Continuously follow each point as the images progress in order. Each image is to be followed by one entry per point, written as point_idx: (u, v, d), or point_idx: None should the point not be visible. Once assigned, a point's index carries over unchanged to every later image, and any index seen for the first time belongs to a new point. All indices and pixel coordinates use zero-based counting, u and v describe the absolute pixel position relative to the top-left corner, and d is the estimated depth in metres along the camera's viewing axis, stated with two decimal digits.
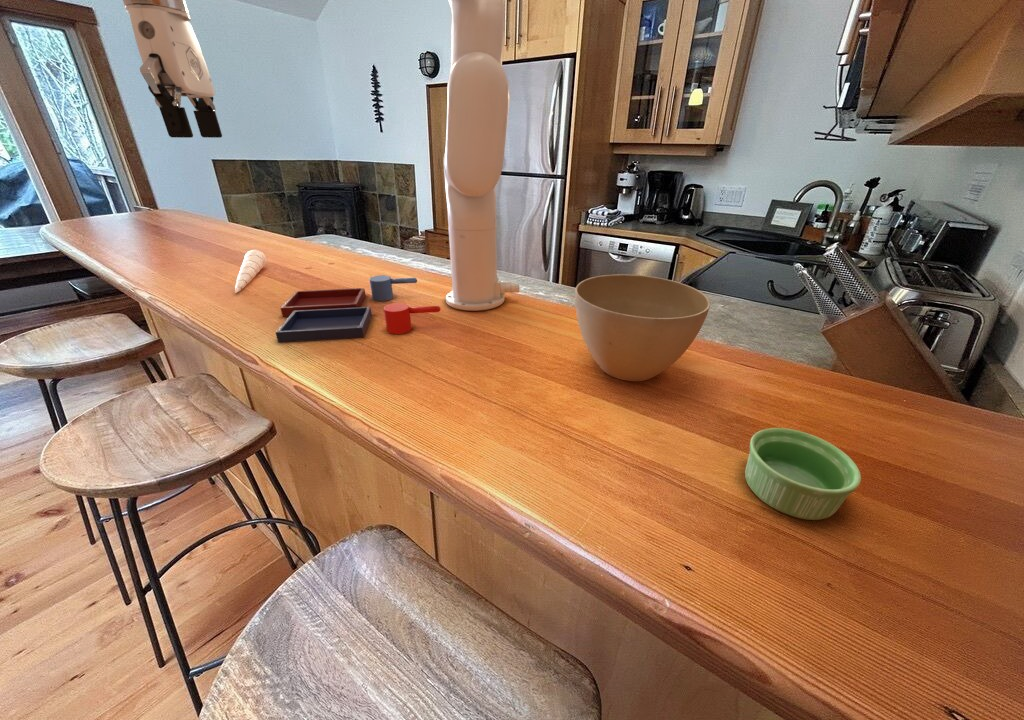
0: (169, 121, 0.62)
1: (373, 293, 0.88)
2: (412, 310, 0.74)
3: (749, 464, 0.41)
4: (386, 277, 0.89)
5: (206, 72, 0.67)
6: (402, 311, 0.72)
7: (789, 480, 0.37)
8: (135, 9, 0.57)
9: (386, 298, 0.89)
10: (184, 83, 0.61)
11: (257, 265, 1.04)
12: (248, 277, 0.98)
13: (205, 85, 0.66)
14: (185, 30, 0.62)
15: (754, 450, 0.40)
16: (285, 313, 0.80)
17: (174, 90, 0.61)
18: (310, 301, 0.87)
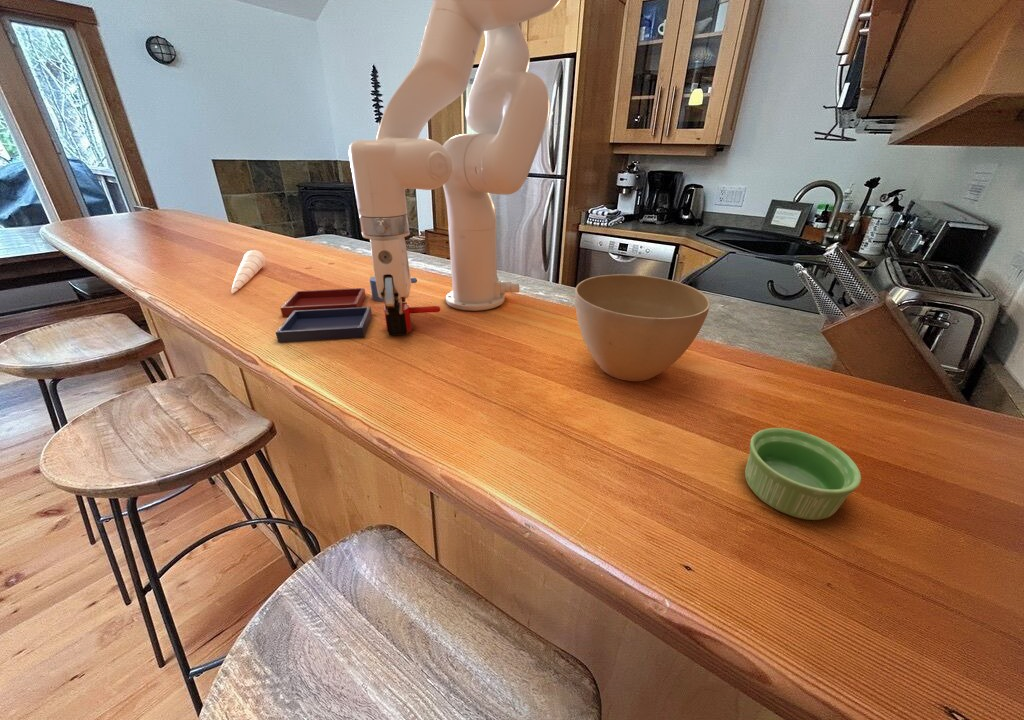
0: (393, 326, 0.71)
1: (373, 293, 0.88)
2: (412, 310, 0.74)
3: (749, 464, 0.41)
4: None
5: None
6: None
7: (789, 480, 0.37)
8: (378, 241, 0.64)
9: None
10: (406, 293, 0.68)
11: (255, 265, 1.04)
12: (245, 277, 0.98)
13: (410, 280, 0.73)
14: (404, 243, 0.69)
15: (754, 450, 0.40)
16: (285, 313, 0.80)
17: (399, 302, 0.70)
18: (310, 301, 0.87)
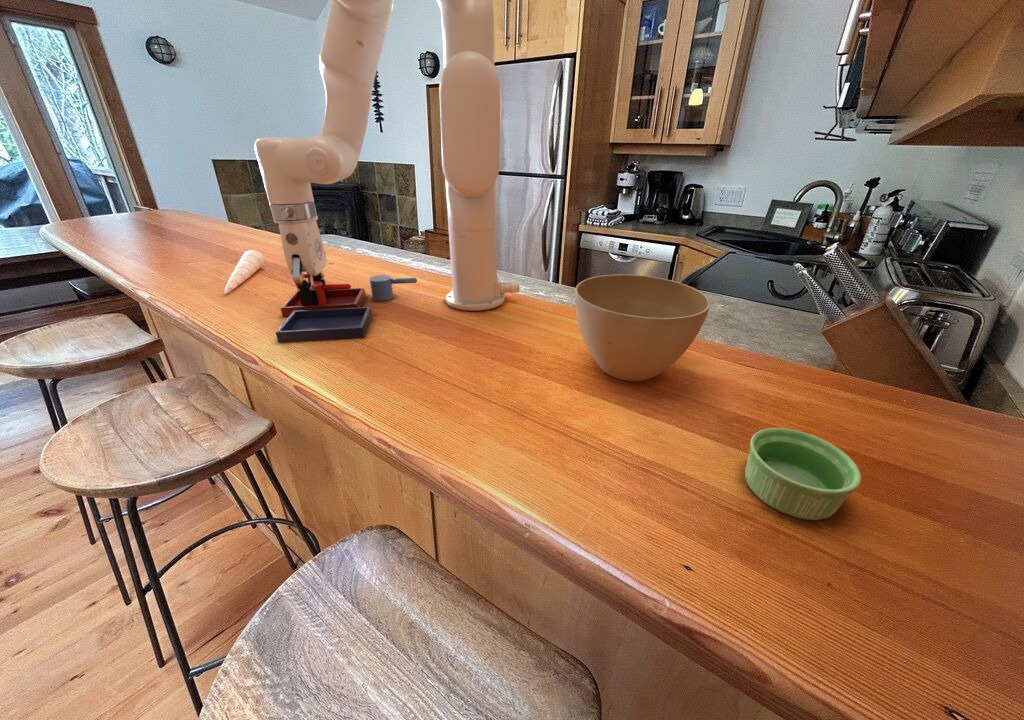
0: (305, 301, 0.81)
1: (373, 293, 0.88)
2: (324, 287, 0.84)
3: (749, 464, 0.41)
4: (386, 277, 0.89)
5: (323, 249, 0.84)
6: (314, 287, 0.82)
7: (789, 480, 0.37)
8: (284, 225, 0.74)
9: (386, 298, 0.89)
10: (315, 271, 0.78)
11: (252, 266, 1.04)
12: (240, 278, 0.97)
13: (323, 261, 0.83)
14: (314, 228, 0.79)
15: (754, 450, 0.40)
16: (285, 313, 0.80)
17: (309, 279, 0.79)
18: None
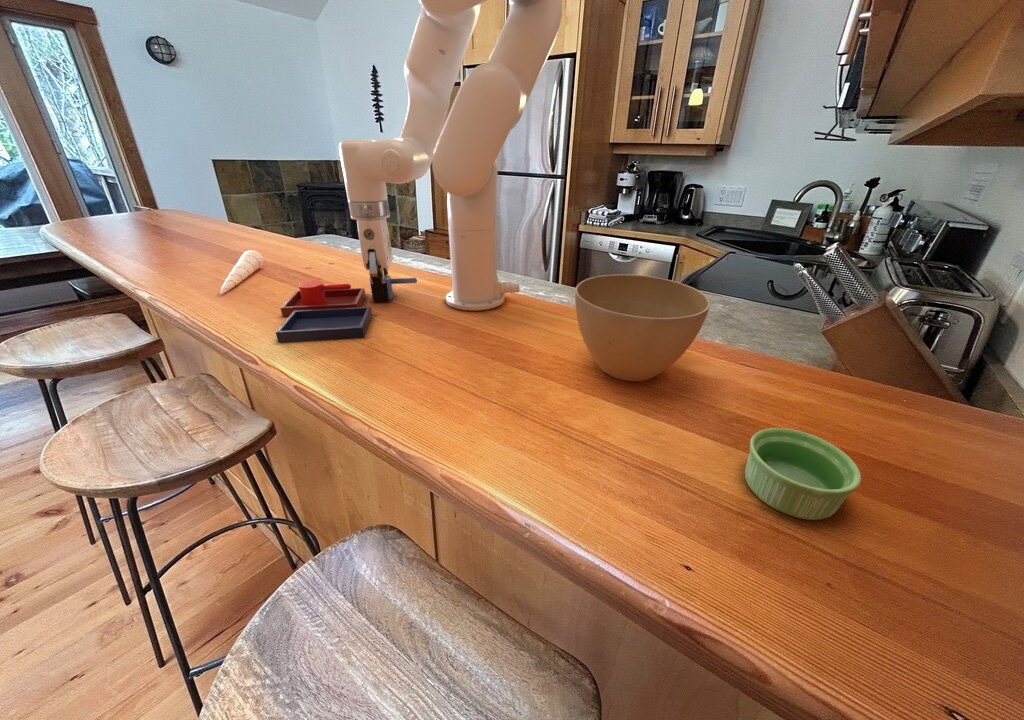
0: (377, 293, 0.86)
1: None
2: (324, 287, 0.84)
3: (749, 464, 0.41)
4: (386, 277, 0.89)
5: (390, 244, 0.89)
6: (314, 287, 0.82)
7: (789, 480, 0.37)
8: (363, 221, 0.79)
9: None
10: (387, 265, 0.83)
11: (251, 266, 1.04)
12: (238, 278, 0.97)
13: (391, 256, 0.88)
14: (386, 224, 0.84)
15: (754, 450, 0.40)
16: (285, 313, 0.80)
17: (382, 273, 0.85)
18: None
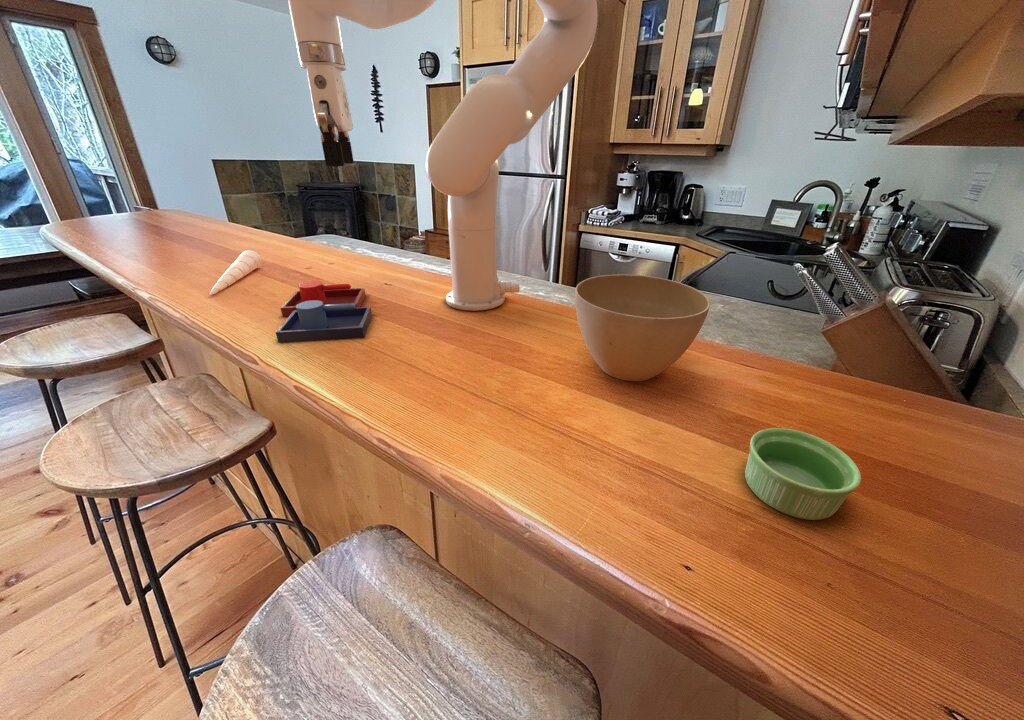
0: (329, 153, 0.76)
1: (301, 322, 0.73)
2: (324, 287, 0.84)
3: (749, 464, 0.41)
4: (317, 303, 0.74)
5: (349, 111, 0.81)
6: (314, 287, 0.82)
7: (789, 480, 0.37)
8: (313, 66, 0.70)
9: (317, 328, 0.74)
10: (343, 123, 0.75)
11: (246, 266, 1.03)
12: (230, 278, 0.97)
13: (350, 122, 0.80)
14: (341, 79, 0.76)
15: (754, 450, 0.40)
16: (285, 313, 0.80)
17: (335, 128, 0.75)
18: None
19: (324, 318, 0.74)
